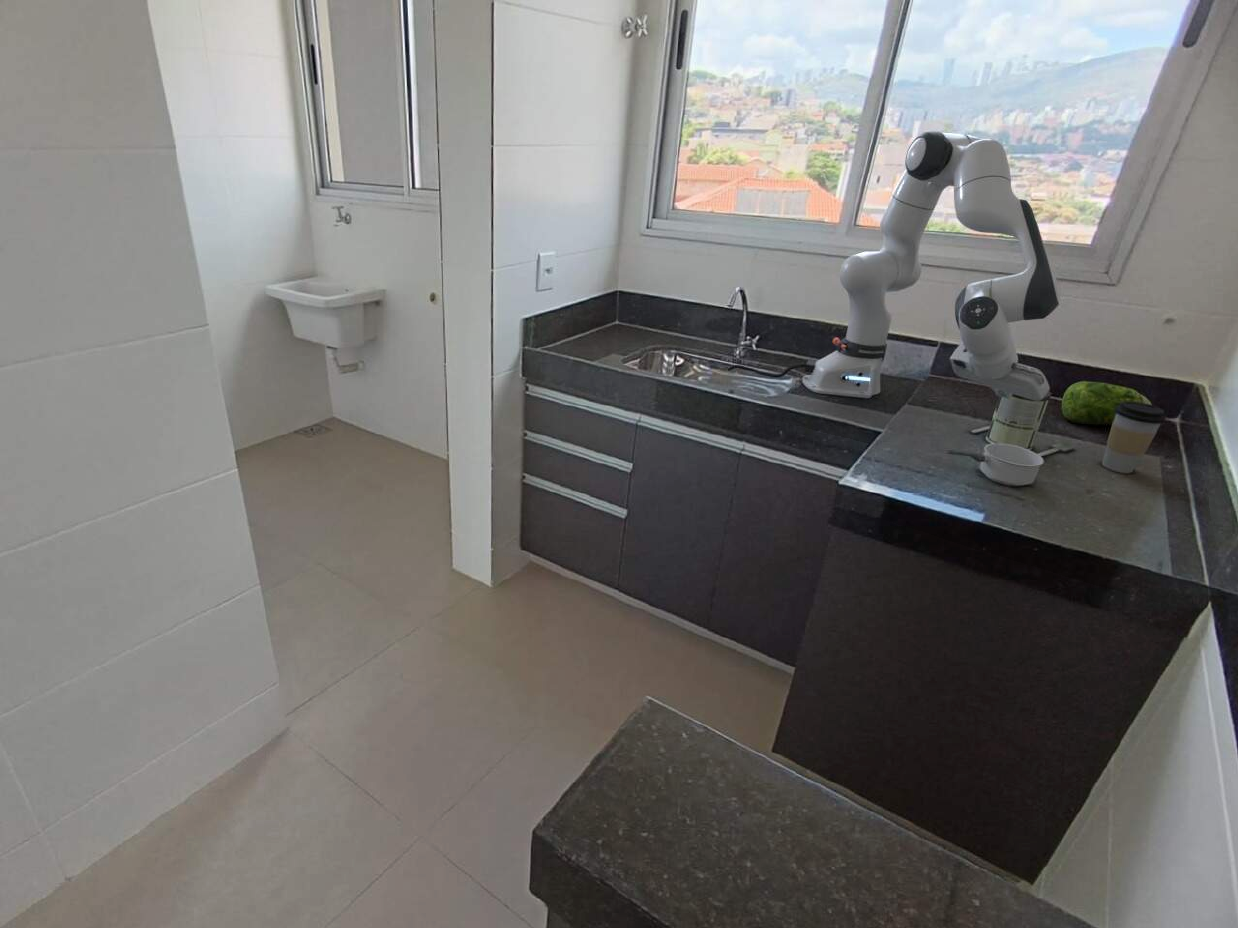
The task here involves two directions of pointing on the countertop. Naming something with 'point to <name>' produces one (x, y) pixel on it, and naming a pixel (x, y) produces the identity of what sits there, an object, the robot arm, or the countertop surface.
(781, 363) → the countertop surface
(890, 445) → the countertop surface
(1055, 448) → the spoon
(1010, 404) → the coffee can
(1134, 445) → the coffee cup
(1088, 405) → the green oval lump
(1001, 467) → the saucepan
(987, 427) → the fork
